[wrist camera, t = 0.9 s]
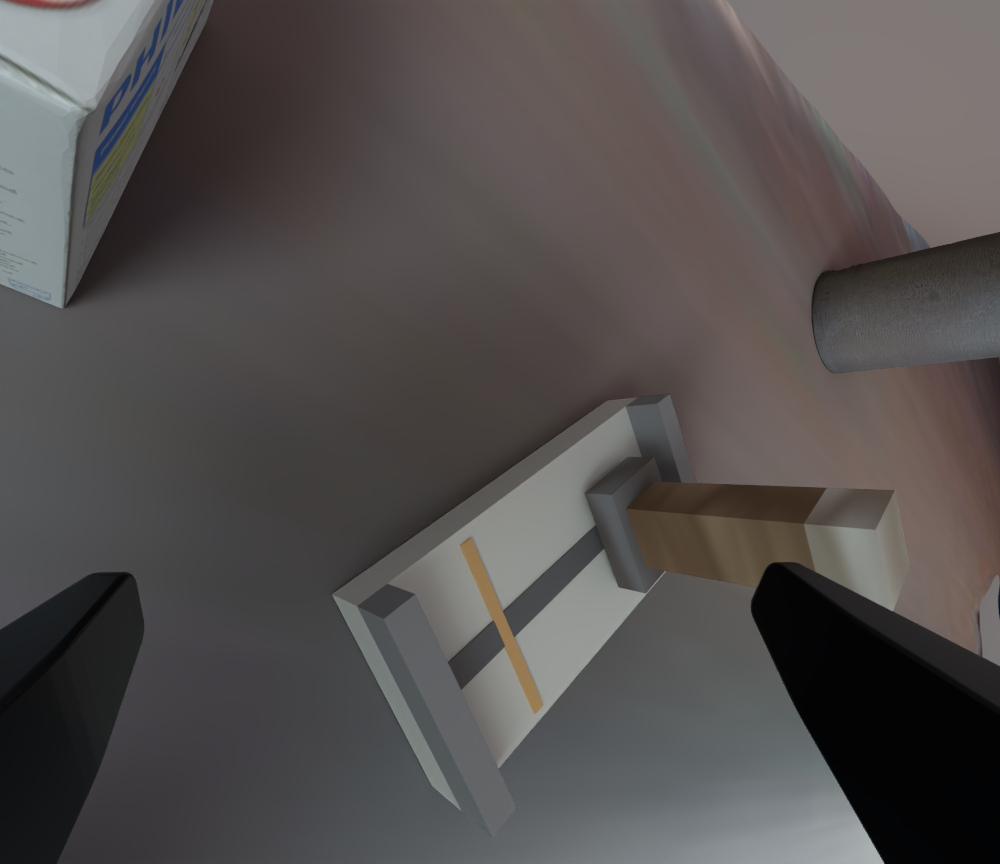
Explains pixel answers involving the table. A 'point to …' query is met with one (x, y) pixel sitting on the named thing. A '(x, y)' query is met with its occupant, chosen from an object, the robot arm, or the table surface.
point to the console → (504, 602)
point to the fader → (747, 531)
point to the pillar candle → (911, 308)
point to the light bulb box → (78, 123)
